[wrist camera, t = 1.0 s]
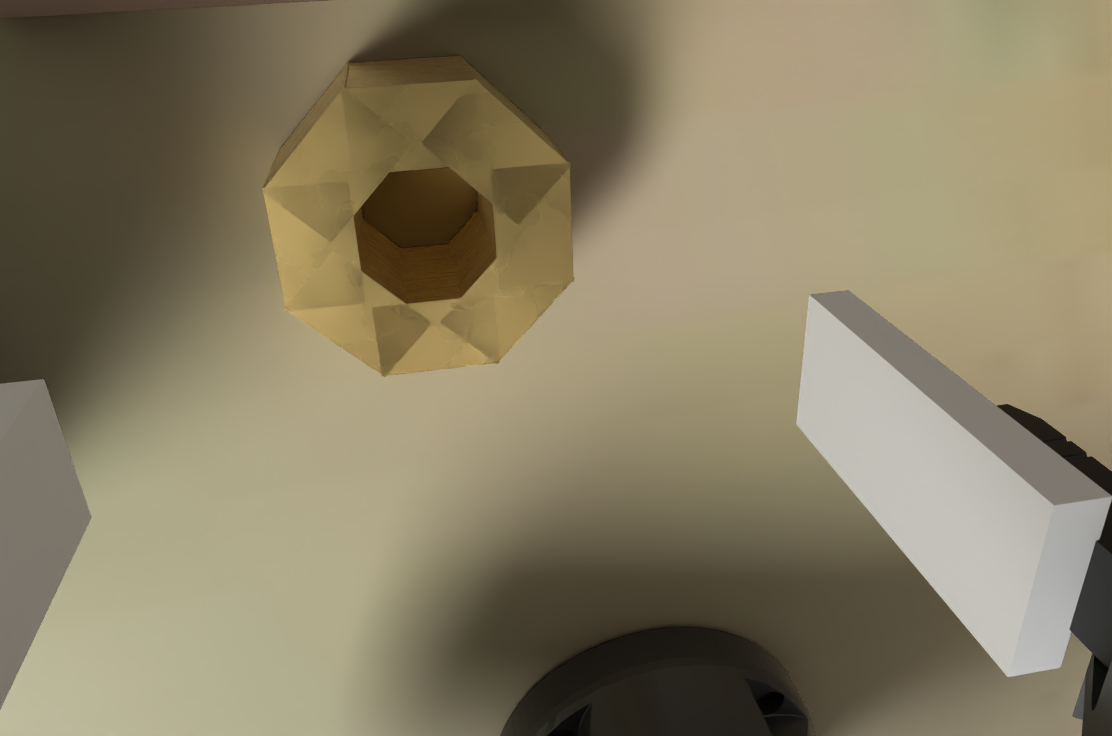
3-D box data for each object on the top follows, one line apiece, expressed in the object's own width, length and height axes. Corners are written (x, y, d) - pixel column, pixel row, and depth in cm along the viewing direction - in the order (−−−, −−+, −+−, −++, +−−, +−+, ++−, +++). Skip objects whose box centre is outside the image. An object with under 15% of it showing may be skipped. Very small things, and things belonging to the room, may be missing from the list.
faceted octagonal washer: (548, 295, 31) (576, 354, 27) (310, 320, 30) (299, 387, 26) (537, 49, 28) (568, 72, 23) (264, 67, 26) (243, 94, 22)
